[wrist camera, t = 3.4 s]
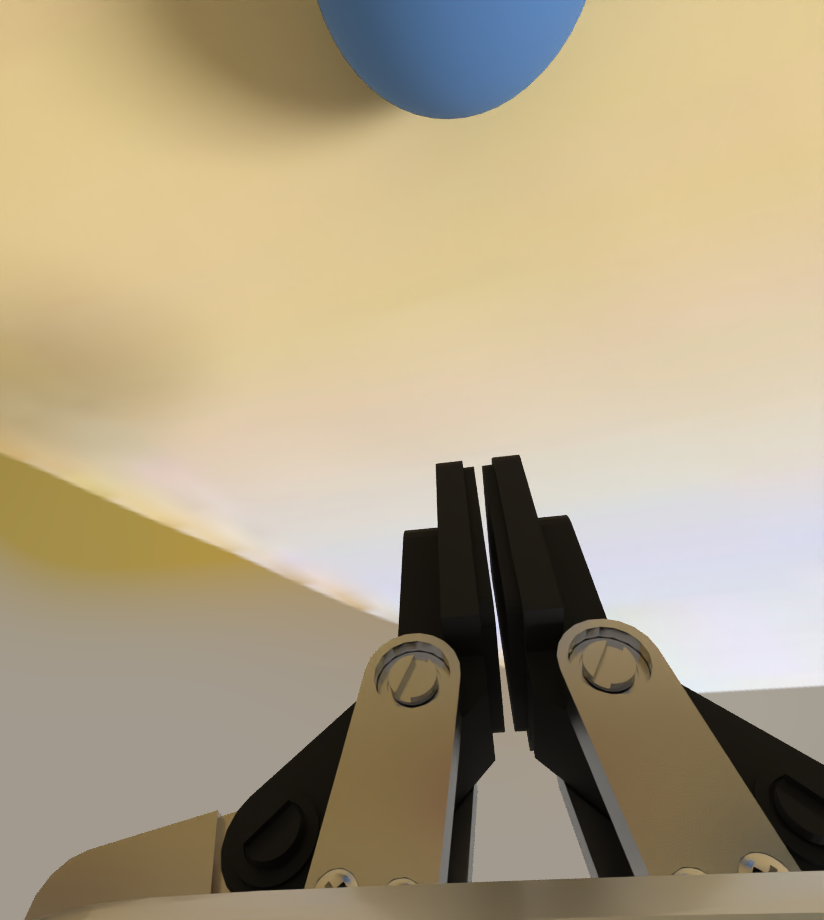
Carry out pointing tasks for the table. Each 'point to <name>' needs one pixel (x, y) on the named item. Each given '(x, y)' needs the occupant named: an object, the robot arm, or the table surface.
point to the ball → (449, 48)
